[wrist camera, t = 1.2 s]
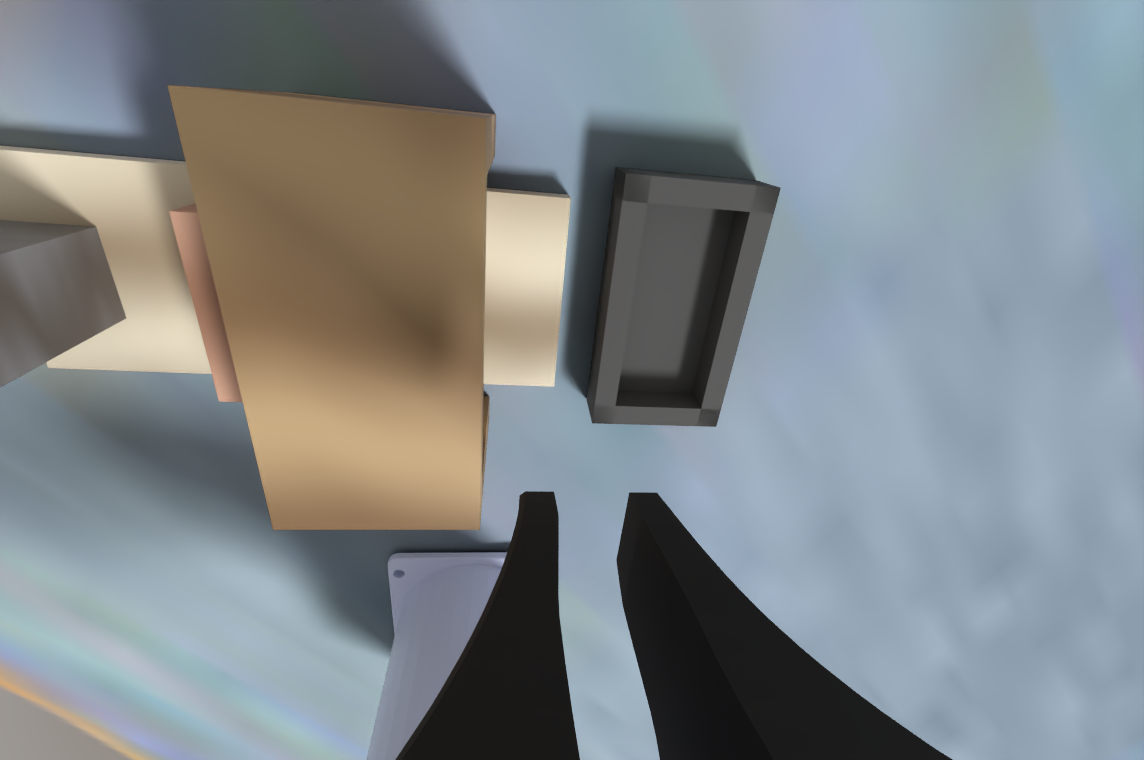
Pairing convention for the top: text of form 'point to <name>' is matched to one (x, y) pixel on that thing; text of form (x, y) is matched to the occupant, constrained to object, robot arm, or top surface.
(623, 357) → the tray
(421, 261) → the tunnel
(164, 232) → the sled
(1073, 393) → the top surface
